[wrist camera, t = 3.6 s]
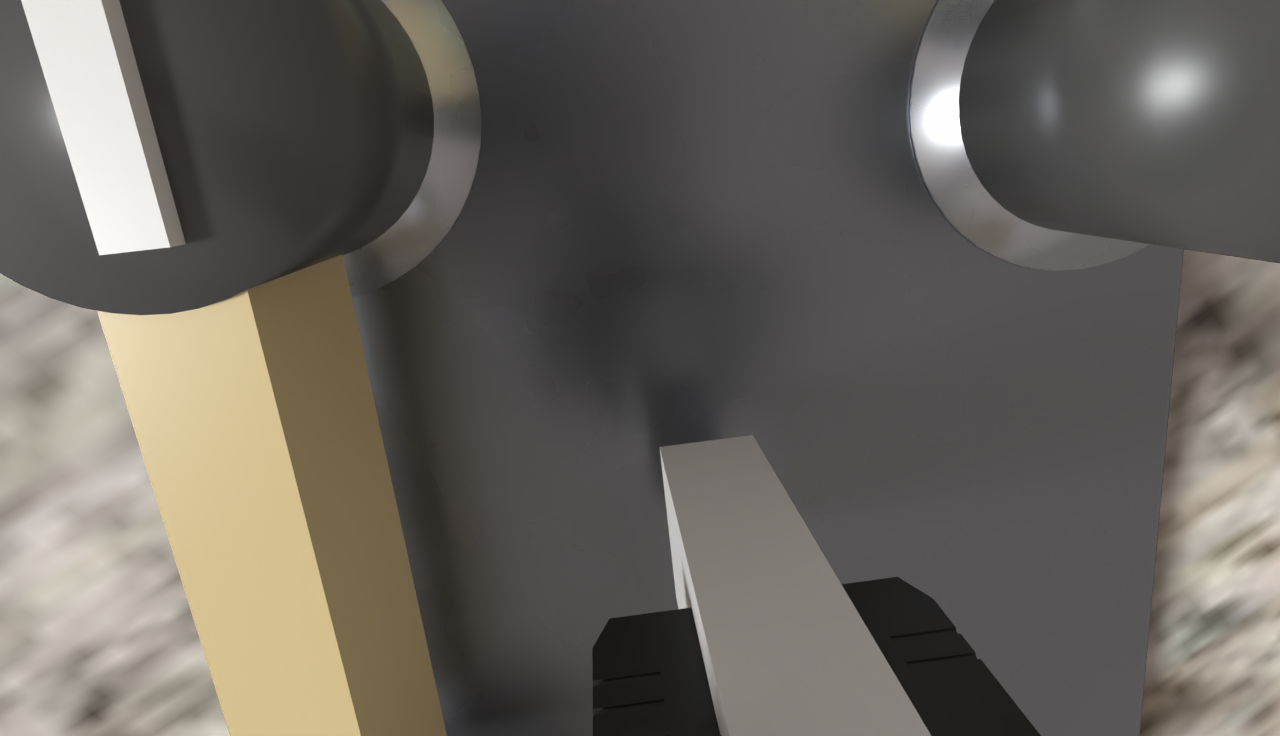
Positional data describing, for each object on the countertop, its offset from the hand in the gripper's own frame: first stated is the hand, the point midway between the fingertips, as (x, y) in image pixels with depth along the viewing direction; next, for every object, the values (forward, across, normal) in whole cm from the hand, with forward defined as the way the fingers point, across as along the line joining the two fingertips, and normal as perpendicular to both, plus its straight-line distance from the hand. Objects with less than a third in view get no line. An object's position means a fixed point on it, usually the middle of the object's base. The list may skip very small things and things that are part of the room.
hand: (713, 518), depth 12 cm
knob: (+2, -6, +2) cm, 6 cm away
